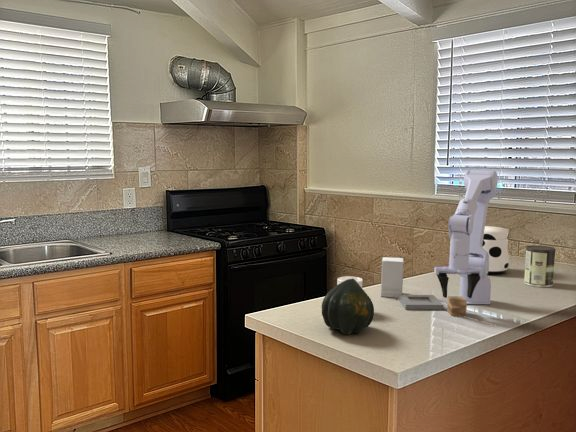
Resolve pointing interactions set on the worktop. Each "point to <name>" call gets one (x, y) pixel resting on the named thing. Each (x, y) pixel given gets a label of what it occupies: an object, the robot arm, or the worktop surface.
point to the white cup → (357, 279)
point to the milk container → (496, 248)
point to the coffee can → (539, 266)
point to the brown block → (456, 306)
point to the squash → (347, 308)
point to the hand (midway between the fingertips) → (457, 297)
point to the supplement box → (392, 277)
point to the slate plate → (420, 302)
